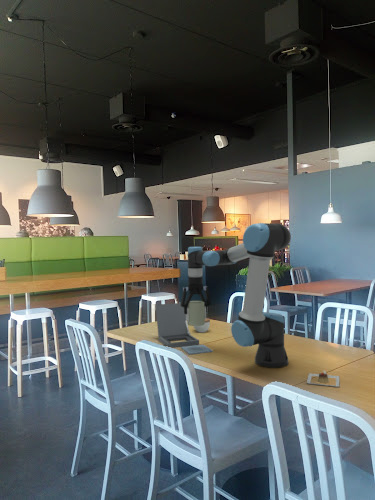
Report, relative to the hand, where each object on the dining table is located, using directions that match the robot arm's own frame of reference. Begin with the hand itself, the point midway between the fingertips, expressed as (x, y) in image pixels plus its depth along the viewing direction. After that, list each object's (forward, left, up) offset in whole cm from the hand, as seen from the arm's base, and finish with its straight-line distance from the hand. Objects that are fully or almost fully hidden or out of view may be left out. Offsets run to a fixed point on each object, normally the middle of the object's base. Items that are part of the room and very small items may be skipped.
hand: (196, 319), depth 208 cm
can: (0, 0, -3) cm, 3 cm away
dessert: (-62, -31, -17) cm, 71 cm away
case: (+21, +4, -16) cm, 26 cm away
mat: (0, 0, -16) cm, 16 cm away
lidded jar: (+38, -18, -16) cm, 45 cm away
